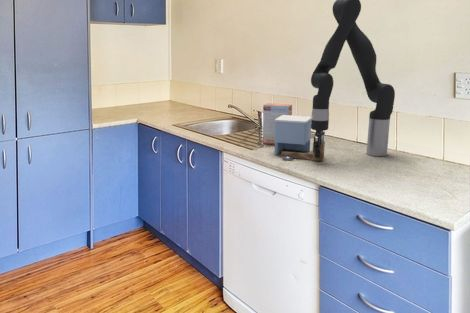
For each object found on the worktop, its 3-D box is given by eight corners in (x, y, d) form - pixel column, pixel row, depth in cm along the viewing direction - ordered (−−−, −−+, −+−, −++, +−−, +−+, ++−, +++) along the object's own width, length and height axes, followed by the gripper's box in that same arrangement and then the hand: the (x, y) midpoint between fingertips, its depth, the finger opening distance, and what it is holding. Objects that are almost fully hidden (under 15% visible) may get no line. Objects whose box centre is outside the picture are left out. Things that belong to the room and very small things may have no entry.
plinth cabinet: (310, 150, 212) (312, 116, 208) (304, 157, 198) (306, 121, 194) (281, 148, 217) (282, 114, 213) (273, 154, 204) (274, 119, 199)
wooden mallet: (323, 158, 195) (324, 141, 193) (322, 161, 191) (323, 143, 189) (282, 155, 202) (283, 138, 200) (280, 157, 198) (280, 140, 196)
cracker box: (291, 144, 224) (292, 104, 219) (286, 146, 219) (288, 105, 214) (267, 141, 231) (268, 102, 226) (262, 143, 226) (263, 104, 221)
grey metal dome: (294, 159, 197) (294, 155, 196) (291, 161, 192) (291, 158, 192) (283, 158, 199) (284, 154, 198) (280, 160, 194) (280, 157, 194)
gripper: (326, 121, 181) (323, 161, 186) (331, 116, 194) (329, 153, 199) (308, 120, 184) (306, 159, 188) (314, 115, 197) (313, 152, 201)
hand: (318, 156), depth 193 cm, fingers closed on wooden mallet, 4 cm apart
